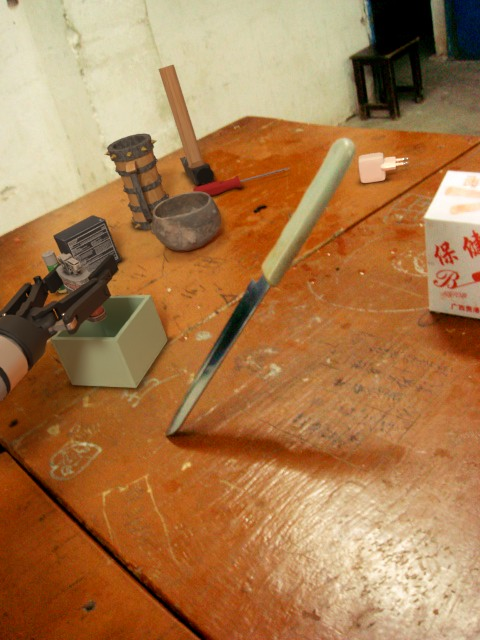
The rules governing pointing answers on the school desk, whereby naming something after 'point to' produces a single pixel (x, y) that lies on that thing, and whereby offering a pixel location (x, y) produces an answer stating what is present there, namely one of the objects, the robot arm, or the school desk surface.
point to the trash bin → (113, 344)
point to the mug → (138, 176)
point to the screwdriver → (226, 184)
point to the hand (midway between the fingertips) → (92, 263)
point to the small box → (88, 242)
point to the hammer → (185, 129)
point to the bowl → (186, 221)
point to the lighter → (76, 280)
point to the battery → (52, 265)
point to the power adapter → (377, 166)
